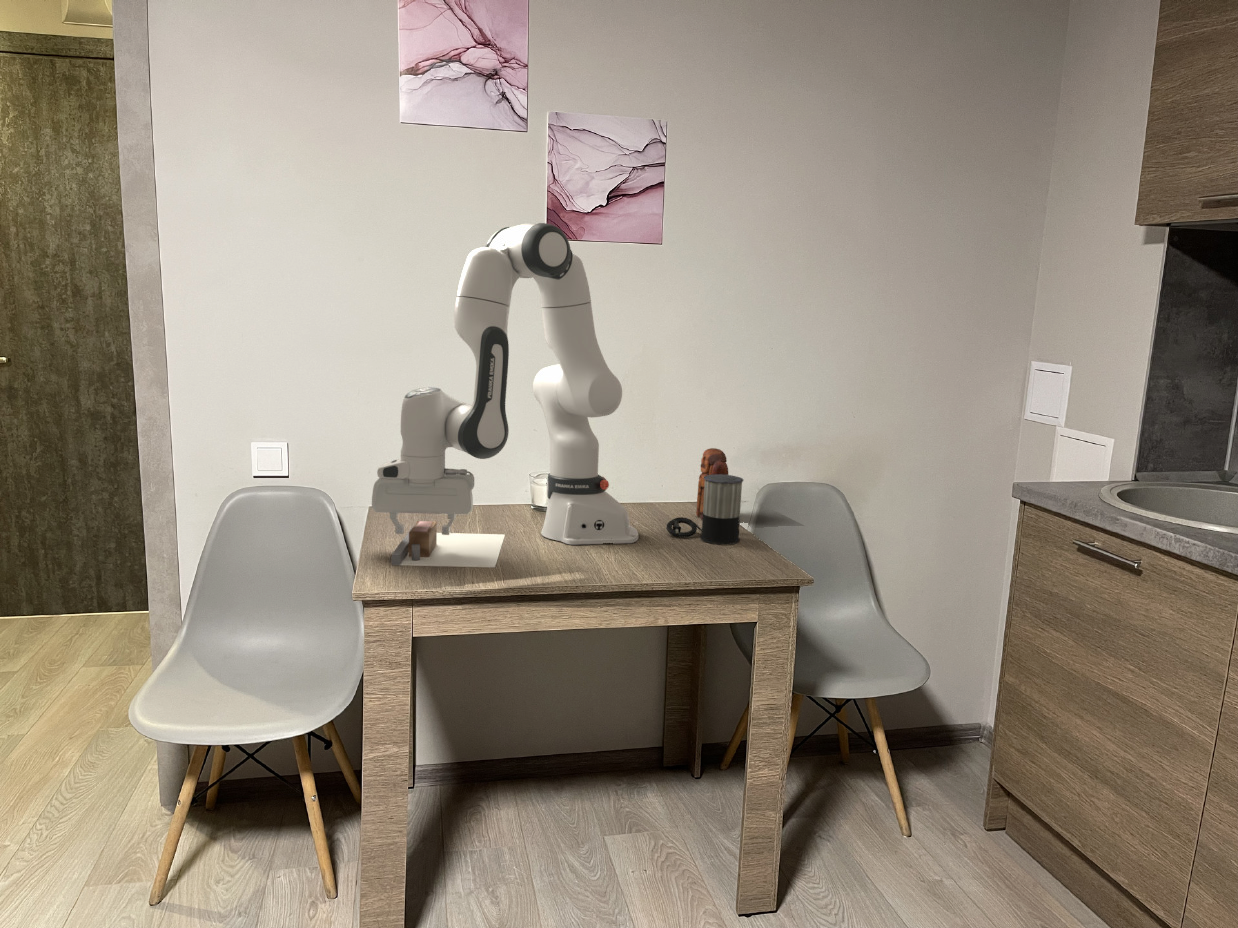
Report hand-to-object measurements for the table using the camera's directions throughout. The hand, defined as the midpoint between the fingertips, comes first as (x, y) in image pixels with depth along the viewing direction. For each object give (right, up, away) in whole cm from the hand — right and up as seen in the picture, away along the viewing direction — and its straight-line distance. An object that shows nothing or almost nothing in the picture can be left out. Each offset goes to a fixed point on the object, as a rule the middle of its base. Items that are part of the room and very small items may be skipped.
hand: (422, 533), depth 185 cm
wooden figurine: (+64, 0, +46) cm, 79 cm away
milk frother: (+60, -3, +25) cm, 65 cm away
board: (+5, -4, +3) cm, 8 cm away
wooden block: (0, -3, +1) cm, 4 cm away
